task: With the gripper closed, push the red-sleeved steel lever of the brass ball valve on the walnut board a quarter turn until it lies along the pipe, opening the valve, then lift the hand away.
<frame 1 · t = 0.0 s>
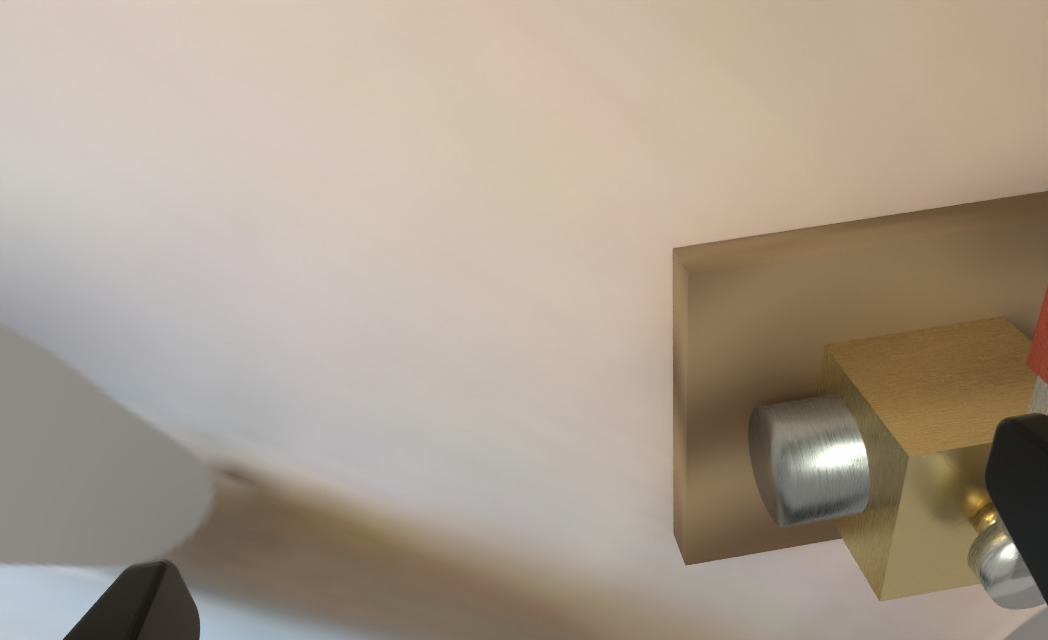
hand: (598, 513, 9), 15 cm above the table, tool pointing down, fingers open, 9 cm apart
ball valve: (949, 462, 25), on the valve board, point 4 cm above the table
valve board: (877, 374, 28), on the table
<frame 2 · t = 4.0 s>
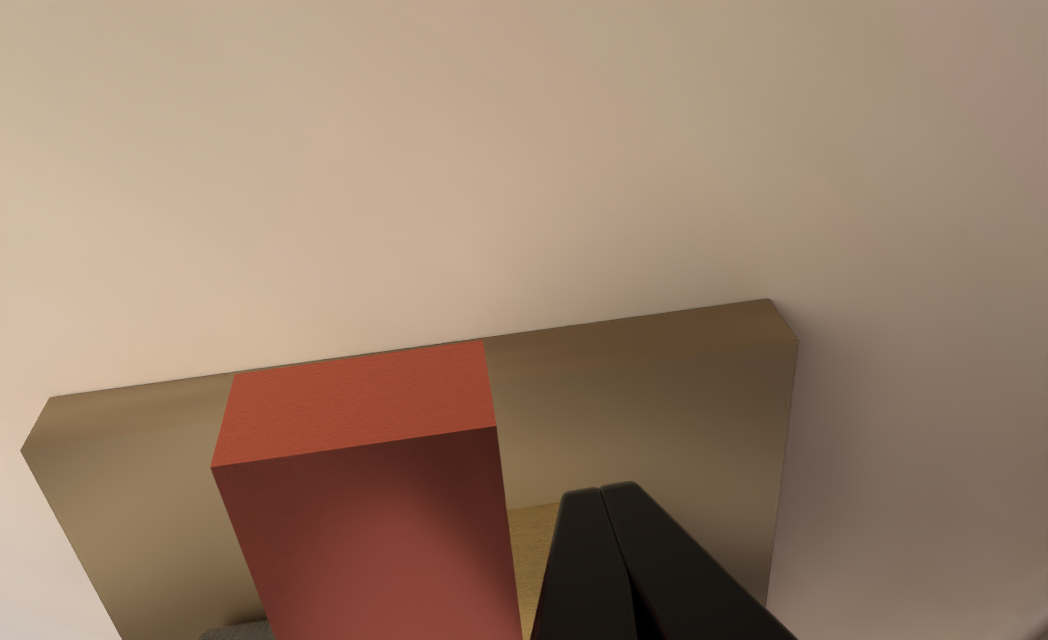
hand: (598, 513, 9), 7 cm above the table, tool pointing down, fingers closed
valve board: (456, 556, 20), on the table
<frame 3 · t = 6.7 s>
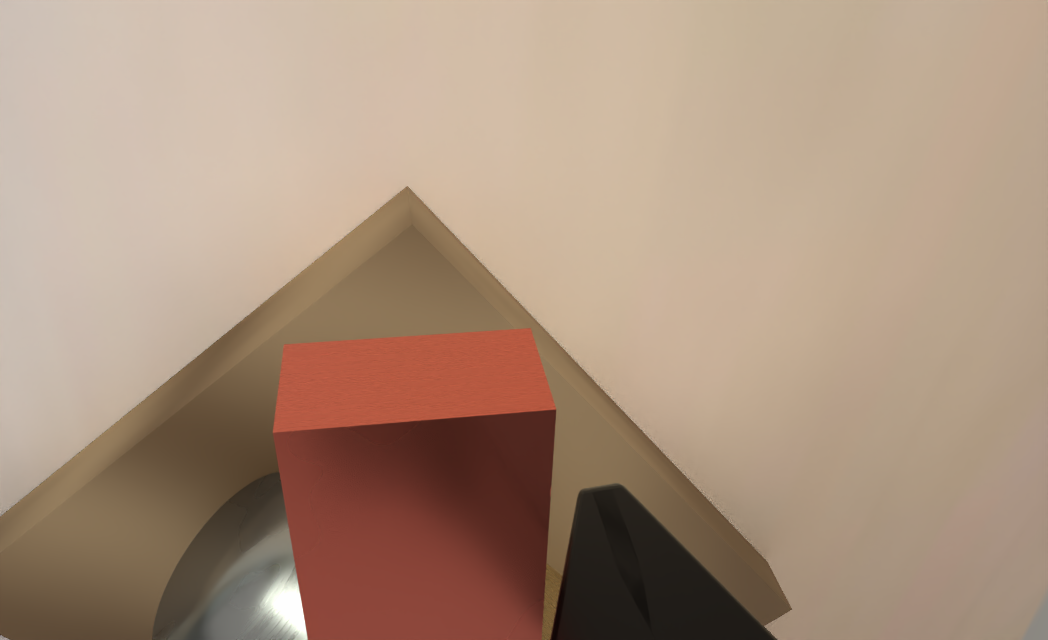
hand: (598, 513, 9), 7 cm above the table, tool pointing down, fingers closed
valve board: (413, 554, 20), on the table
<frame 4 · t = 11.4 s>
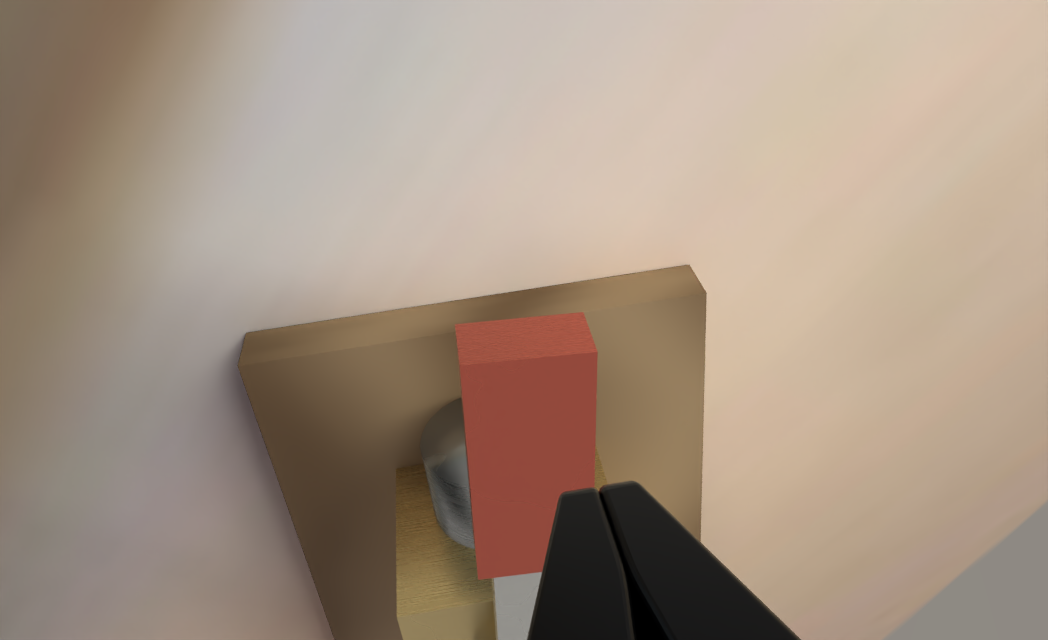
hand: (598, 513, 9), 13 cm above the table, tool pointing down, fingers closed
ball valve: (517, 599, 23), on the valve board, point 4 cm above the table
valve lever: (532, 587, 17), point 8 cm above the table, hinge at 86.0°
valve board: (500, 486, 27), on the table
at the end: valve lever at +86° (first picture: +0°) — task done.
